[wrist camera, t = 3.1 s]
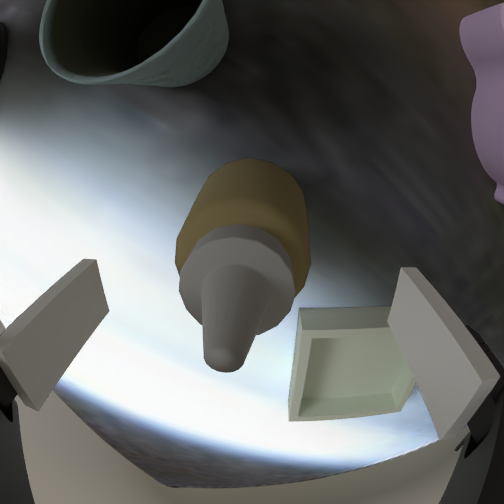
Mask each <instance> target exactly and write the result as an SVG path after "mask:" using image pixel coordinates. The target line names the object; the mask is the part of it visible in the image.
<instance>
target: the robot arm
mask: <svg viewBox="0 0 504 504" xmlns="http://www.w3.org/2000/svg"><path fill="white" fill-rule="evenodd" d="M6 48H7V37H6V31H5V28H4V26H3V25H2V24H1V23H0V78H1V75H2V71H3V67H4V62H5V57H6ZM108 312H109V308H108V305H107V301H106V297H105V294H104V290H103V286H102V282H101V278H100V273H99V269H98V265H97V260H95V259H83V260H82V261H80V262H79V263H78V264H77V265H76V266H74V267H73V268H72V269H71V270H70V271H69V272H67V273H66V274H65V275H64V276H63V277H62V278H60V279H59V280H58V281H57V282H56V283H55V284H54V285H52V286H51V287H50V288H49V289H48V290H47V291H46V292H45V293H44V294H42V295H41V296H40V297H39V298H38V299H37V300H36V301H35V302H34V303H33V304H32V305H31V306H29V307H28V308H27V309H26V310H25V311H24V312H23V313H22V314H21V315H20V316H19V317H17V318H16V319H15V320H14V321H13V322H12V324H10V325H9V326H8V327H7V329H6V330H4V331H3V333H2V334H1V335H0V504H35V503H34V499H33V495H32V492H31V488H30V484H29V479H28V475H27V470H26V465H25V460H24V454H23V448H22V441H21V433H20V424H19V414H18V405H17V402H16V401H15V399H14V398H15V397H16V395H17V394H18V396H19V397H20V398H21V400H22V401H23V403H24V404H25V405H26V406H28V407H30V408H32V409H34V410H37V411H39V410H40V408H41V407H42V405H43V404H44V402H45V401H46V399H47V397H48V396H49V394H50V393H51V391H52V390H53V388H54V387H55V385H56V384H57V382H58V381H59V380H60V378H61V377H62V375H63V374H64V372H65V371H66V369H67V368H68V366H69V365H70V364H71V362H72V361H73V359H74V358H75V357H76V355H77V354H78V352H79V351H80V350H81V348H82V347H83V345H84V344H85V343H86V341H87V340H88V339H89V337H90V336H91V335H92V333H93V332H94V330H95V329H96V328H97V326H98V325H99V324H100V323H101V321H102V320H103V319H104V317H105V316H106V315H107V313H108ZM387 322H388V324H389V326H390V328H391V330H392V332H393V334H394V336H395V338H396V340H397V342H398V344H399V346H400V348H401V350H402V352H403V354H404V357H405V359H406V361H407V363H408V365H409V367H410V369H411V372H412V374H413V376H414V378H415V381H416V383H417V385H418V387H419V390H420V392H421V394H422V397H423V399H424V401H425V404H426V406H427V409H428V411H429V414H430V416H431V419H432V421H433V424H434V426H435V429H436V431H437V434H438V437H439V439H440V441H441V440H444V439H447V438H451V437H454V436H457V435H458V434H459V433H460V432H461V431H462V430H463V429H464V427H465V426H466V425H468V427H469V429H470V432H469V433H468V434H467V435H466V436H465V438H464V439H463V440H462V441H461V442H460V444H459V445H458V446H457V447H456V449H455V451H458V450H459V449H460V447H461V446H462V445H463V447H462V450H461V453H460V455H459V458H458V461H457V463H456V466H455V468H454V471H453V474H452V476H451V478H450V481H449V483H448V485H447V487H446V490H445V492H444V494H443V496H442V498H441V500H440V502H439V504H504V368H503V367H502V365H501V364H500V363H499V361H498V360H497V358H496V357H495V355H494V354H493V353H492V352H490V349H489V347H488V346H487V344H485V342H484V340H483V339H482V338H481V336H480V335H479V334H478V333H477V332H476V331H474V330H473V329H472V328H470V327H469V326H464V324H463V323H462V322H461V320H460V319H459V318H458V317H457V315H456V314H455V313H454V312H453V310H452V309H451V308H450V307H449V305H448V304H447V303H446V302H445V300H444V299H443V298H442V297H441V296H440V294H439V293H438V292H437V291H436V290H435V288H434V287H433V286H432V285H431V284H430V283H429V281H428V280H427V279H426V278H425V277H424V276H423V275H422V274H421V272H420V271H419V270H418V269H417V268H416V267H401V269H400V274H399V278H398V282H397V287H396V291H395V295H394V299H393V302H392V306H391V310H390V314H389V317H388V321H387Z"/></svg>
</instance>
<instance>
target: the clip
mask: <svg viewBox="0 0 504 504" xmlns="http://www.w3.org/2000/svg"><path fill="white" fill-rule="evenodd" d="M459 32H460V40H461V44H462V47H463V50H464V52H465V54H466V56H467V58H468V60H469V62H470V64H471V65H472V67H473V69H474V72H475V75H476V82H477V86H476V91H475V94H474V98H473V102H472V110H471V127H472V135H473V141H474V145H475V149H476V152H477V155H478V157H479V160H480V162H481V164H482V166H483V168H484V169H485V171H486V172H487V174H488V175H489V176H490V177H491V178H492V179H493V180H494V181H495V182H496V183H497V188H496V191H495V194H494V198H495V200H496V201H498V202H500V203H502V204H504V3H501V4H498V5H495V6H492V7H489V8H487V9H484V10H481V11H479V12H476V13H473V14H471V15H468V16H466V17H464V18H463V19H462V21H461V23H460V29H459Z"/></svg>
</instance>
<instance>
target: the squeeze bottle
mask: <svg viewBox="0 0 504 504" xmlns="http://www.w3.org/2000/svg"><path fill="white" fill-rule="evenodd" d="M175 264H176V267H177V270H178V273H179V276H180V282H179V292H180V295H181V297H182V300H183V302H184V305H185V307H186V309H187V311H188V312H189V313H190V314H191V315H192V316H193V317H194V318H195V319H196V320H197V321H198V322H199V323H200V324H201V325H203V349H204V359H205V362H206V364H207V365H209V366H210V367H211V368H212V369H214V370H216V371H220V372H225V373H226V372H234V371H236V370H238V369H240V368H241V367H242V365H243V364H244V361H245V359H246V357H247V354H248V352H249V350H250V347H251V345H252V343H253V340H254V338H255V336H256V335H260V334H262V333H264V332H266V331H268V330H270V329H272V328H274V327H276V326H277V325H278V324H279V323H280V322H281V321H282V320H283V319H284V318H285V316H286V315H287V314H288V313H289V312H290V310H291V307H292V304H293V300H294V298H295V297H296V296H297V294H298V293H299V292H300V291H301V290H302V288H303V287H304V286H305V282H306V279H307V275H308V272H309V269H310V265H311V256H310V242H309V230H308V218H307V210H306V205H305V199H304V193H303V192H302V190H301V188H300V187H299V185H298V184H297V182H296V181H295V179H294V178H293V176H292V175H291V174H290V173H288V172H287V171H285V170H284V169H282V168H281V167H279V166H277V165H276V164H274V163H273V162H269V161H264V160H258V159H253V158H247V159H242V160H238V161H233V162H229V163H226V164H225V165H224V166H222V167H221V168H219V169H218V170H217V171H215V172H214V173H213V174H211V175H210V176H209V177H208V179H207V181H206V182H205V184H204V186H203V187H202V189H201V191H200V192H199V194H198V196H197V198H196V200H195V202H194V204H193V206H192V208H191V210H190V212H189V214H188V216H187V218H186V220H185V222H184V224H183V227H182V229H181V231H180V233H179V235H178V237H177V241H176V254H175Z"/></svg>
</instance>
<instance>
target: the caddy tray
mask: <svg viewBox="0 0 504 504" xmlns="http://www.w3.org/2000/svg"><path fill="white" fill-rule="evenodd" d="M390 310H391V306H386V307H351V308H299V314H298V324H297V333H296V342H295V351H294V359H293V367H292V375H291V382H290V390H289V397H288V412H289V421H318V420H334V419H346V418H356V417H365V416H373V415H380V414H387V413H393V412H399V411H401V409H402V408H403V406H404V404H405V402H406V401H407V399H408V397H409V395H410V393H411V391H412V390H413V388H414V386H415V384H416V381H415V378H414V376H413V374H412V372H411V369H410V367H409V365H408V363H407V361H406V359H405V357H404V354H403V352H402V350H401V348H400V346H399V344H398V342H397V340H396V338H395V336H394V334H393V332H392V330H391V328H390V326H389V324H388V322H387V321H388V317H389V314H390Z"/></svg>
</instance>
